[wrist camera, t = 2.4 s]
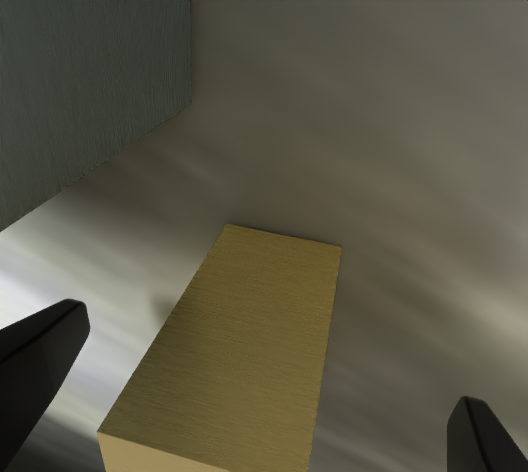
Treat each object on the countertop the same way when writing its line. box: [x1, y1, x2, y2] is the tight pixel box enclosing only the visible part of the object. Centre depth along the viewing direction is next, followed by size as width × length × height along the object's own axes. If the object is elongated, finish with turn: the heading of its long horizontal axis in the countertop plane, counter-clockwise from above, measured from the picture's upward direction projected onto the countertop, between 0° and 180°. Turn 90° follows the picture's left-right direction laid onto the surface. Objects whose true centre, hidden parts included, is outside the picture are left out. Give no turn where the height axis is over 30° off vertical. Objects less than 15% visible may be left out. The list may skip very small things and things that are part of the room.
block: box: [97, 224, 342, 472], centre depth 8 cm, size 5×2×5 cm, turn 175°
